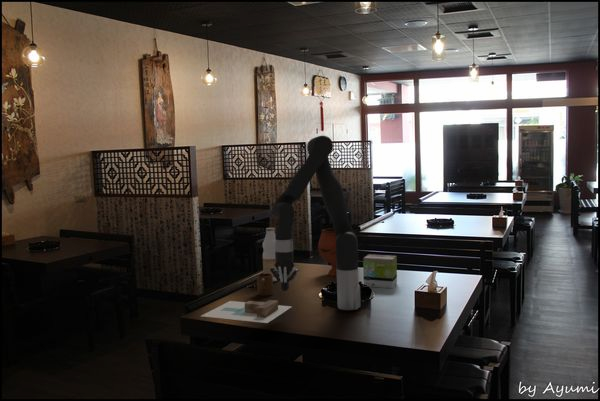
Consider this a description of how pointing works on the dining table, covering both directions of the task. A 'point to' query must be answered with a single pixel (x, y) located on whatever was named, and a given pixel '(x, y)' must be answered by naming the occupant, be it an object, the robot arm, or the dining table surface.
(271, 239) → the fruit juice
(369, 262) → the tea box
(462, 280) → the dining table surface
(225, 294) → the dining table surface
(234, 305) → the mat
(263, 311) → the t block
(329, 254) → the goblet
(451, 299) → the dining table surface
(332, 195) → the robot arm
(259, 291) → the mug
